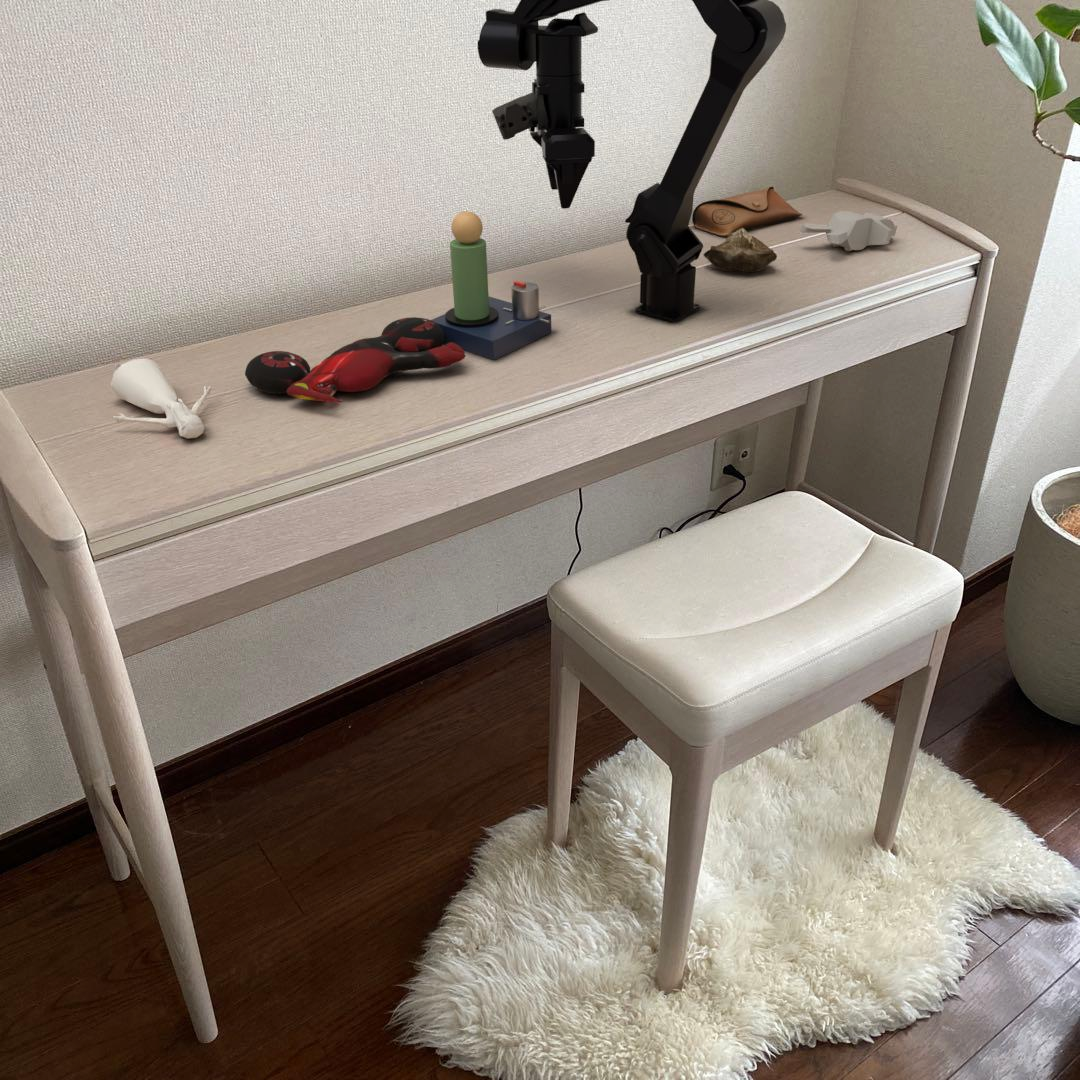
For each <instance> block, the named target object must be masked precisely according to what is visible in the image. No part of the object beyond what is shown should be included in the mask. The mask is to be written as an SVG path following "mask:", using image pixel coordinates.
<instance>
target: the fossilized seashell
mask: <svg viewBox="0 0 1080 1080" xmlns="http://www.w3.org/2000/svg"><path fill="white" fill-rule="evenodd" d="M703 257H704V258H705V259H707V260H708V262H710V264H711V265H712V266H713V267H715V268H716V269H717V270H721V271H727V272H733V271H742V272H747V273H755V272H759V271H762V270H764V269H765V268H766V267H767V266H769V265H770V264H772V263H773V262H775V261H776V260H777V258H778V256H777V253H776V252H775V251H774V249H772V248H770V247H769V246H768V245H766V244H765V243H764V242H762V241H761V240H760V239H758V237H755V236H754V235H752V234H750V233H749V232H748V230H745V229H744V228H740V229H738V230H737V231H736V232H734V233H730V234H729V235H728V236H726V238H725V240H724V241H722V242H721V243H720V244H717V245H711V246H710V249H708V250H706V251H705V252H704V253H703Z"/></svg>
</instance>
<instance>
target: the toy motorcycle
mask: <svg viewBox="0 0 1080 1080" xmlns="http://www.w3.org/2000/svg"><path fill="white" fill-rule="evenodd" d="M431 320H432V319H428V318H424V317H413V316H411V317H403V318H399V319H396V320H393V321H391V322H390V323H389V324H387V325H386V326H385V327H384V329H383V330H382V332H381V335H378V336H375V337H374V336H373V337H366V338H365V337H364V338H361V339H357V340H355V341H353V342H351V343H348V344H346V345H344V346H342V347H340V348H339V349H337V350H335V351H334V352H333V353H331V354H330V355H329V356H327V357H326V358H324V359H323V360H322V361H321V362H320V363H319V364H317V365H315V366H314V367H312V368H311V366H310V364H309V362H308V361H307V360H306V359H305V358H303V357H302V356H301V355H298V354H296V353H293V352H290V351H283V350H273V351H267V352H263V353H261V354H259V355H256V356H254V357H253V358H252V359H250V361H249V362H248V363H247V365H246V367H245V371H244V375H245V378H246V379H247V382H248V383H249V384H250V385H251V386H252V387H254V388H256V389H257V390H259V391H260V392H264V393H266V394H275V395H276V394H278V395H279V394H280V395H281V394H287V395H288V396H291V397H293V398H295V399H298V400H308V401H316V402H324V403H331V402H335V403H342V402H343V401H341V400H340V399H338V398H336V397H335V394H336V393H337V391H339V392H344V393H358V392H364V391H367V390H370V389H372V388H374V387H376V386H377V385H378V384H380V382H382V381H383V380H384V379H385V378H386V377H388V376H390V375H391V374H393V373H394V372H405V371H415V370H422V369H431V370H433V369H440V368H445V367H448V366H452V365H453V364H456V363H458V362H460V361H462V360H464V359H465V358H466V356H467V355H466V354H465V353H466V351H465V350H463V349H462V348H461V347H459V346H458V345H457V344H455V343H453V342H449V343H447V344H445V345H443V344H444V343H443V342H444V334H443V330H442V328H441V327H440V326H439V325H438V324H437V323H435V322H434V321H431Z"/></svg>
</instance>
